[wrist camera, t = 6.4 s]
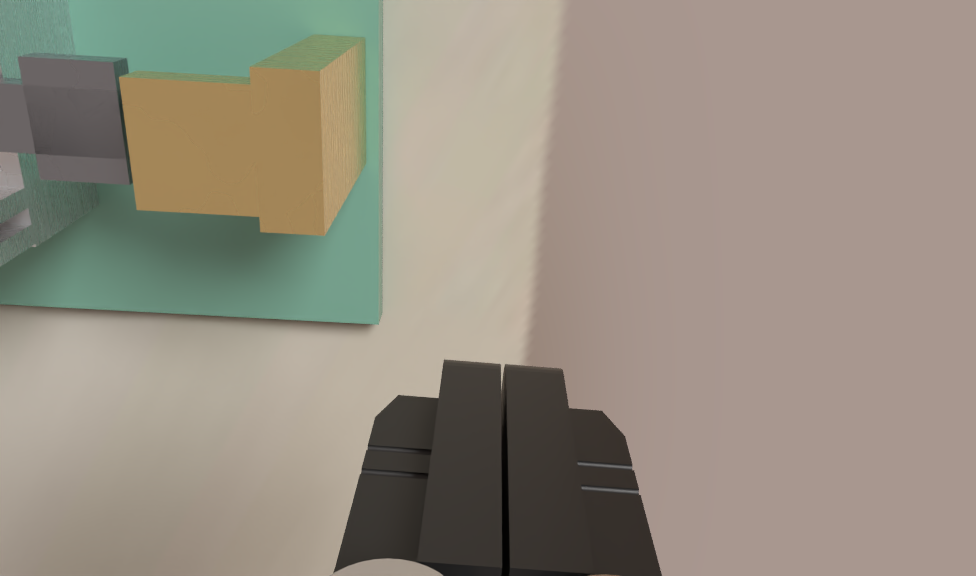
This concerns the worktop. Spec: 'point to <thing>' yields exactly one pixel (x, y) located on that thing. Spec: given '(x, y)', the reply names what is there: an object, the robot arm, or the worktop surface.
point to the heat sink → (15, 176)
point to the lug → (253, 136)
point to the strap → (68, 117)
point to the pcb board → (209, 237)
